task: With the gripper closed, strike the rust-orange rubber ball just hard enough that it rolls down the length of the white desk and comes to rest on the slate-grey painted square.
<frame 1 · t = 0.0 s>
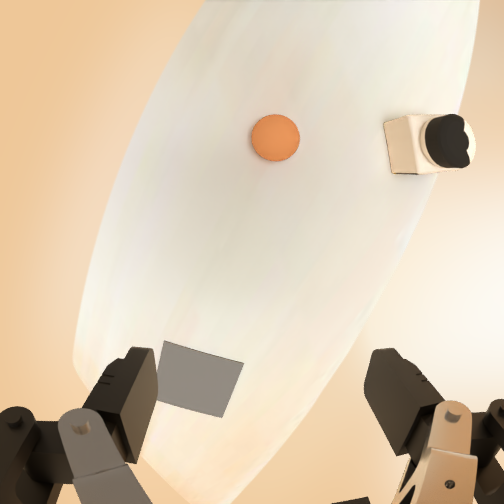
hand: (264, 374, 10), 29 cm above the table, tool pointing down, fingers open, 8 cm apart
ball: (275, 137, 34), on the table
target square: (194, 382, 44), on the table
medicine bottle: (407, 146, 37), on the table
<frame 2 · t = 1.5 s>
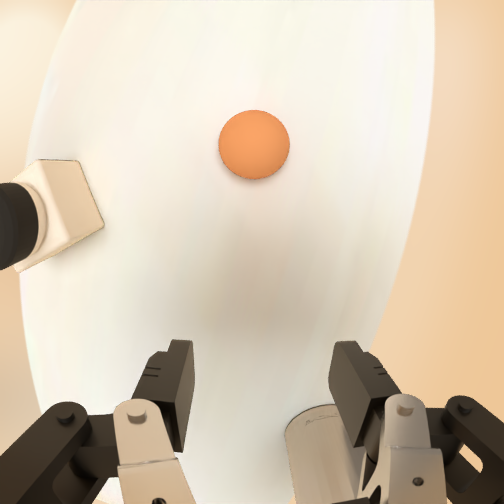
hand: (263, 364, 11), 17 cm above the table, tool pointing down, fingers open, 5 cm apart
ball: (254, 144, 23), on the table
medicine bottle: (66, 208, 26), on the table
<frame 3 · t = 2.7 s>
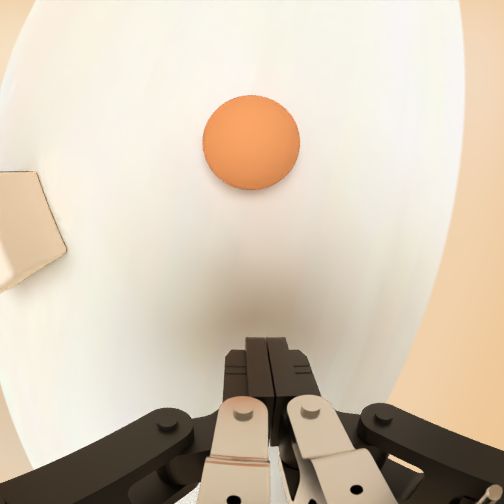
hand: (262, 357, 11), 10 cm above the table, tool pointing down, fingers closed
ball: (251, 142, 17), on the table
medicine bottle: (25, 229, 20), on the table
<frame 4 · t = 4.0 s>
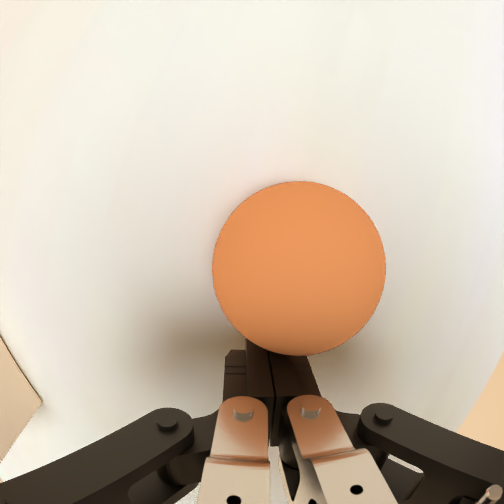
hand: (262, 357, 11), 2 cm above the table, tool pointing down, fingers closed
ball: (299, 268, 10), on the table
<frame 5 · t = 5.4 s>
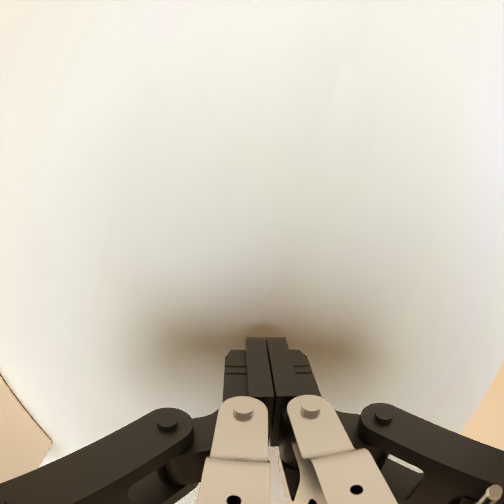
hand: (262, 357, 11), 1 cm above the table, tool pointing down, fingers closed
medicine bottle: (1, 406, 14), on the table
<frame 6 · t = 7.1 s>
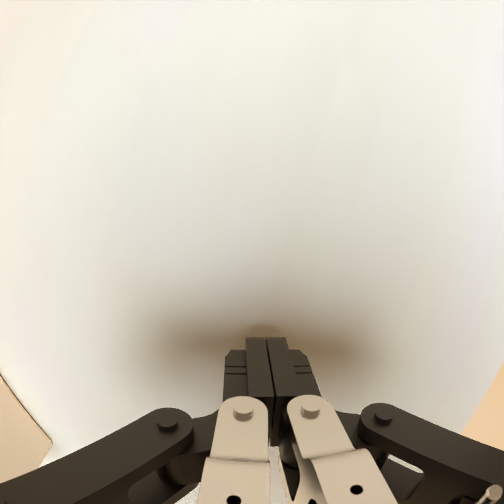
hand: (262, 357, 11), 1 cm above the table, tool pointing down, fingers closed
medicine bottle: (1, 406, 14), on the table
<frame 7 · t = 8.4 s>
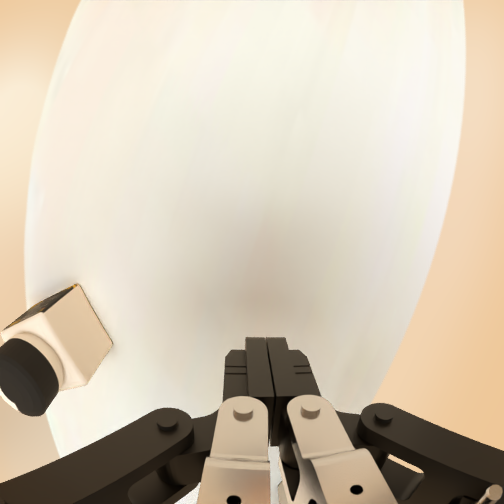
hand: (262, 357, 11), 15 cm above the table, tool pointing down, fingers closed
medicine bottle: (73, 322, 27), on the table
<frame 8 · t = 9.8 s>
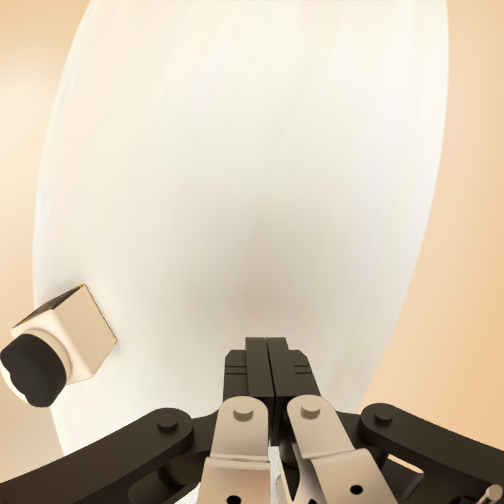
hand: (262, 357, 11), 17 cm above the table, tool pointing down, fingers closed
medicine bottle: (79, 321, 29), on the table
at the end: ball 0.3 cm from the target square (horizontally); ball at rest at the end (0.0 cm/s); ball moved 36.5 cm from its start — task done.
